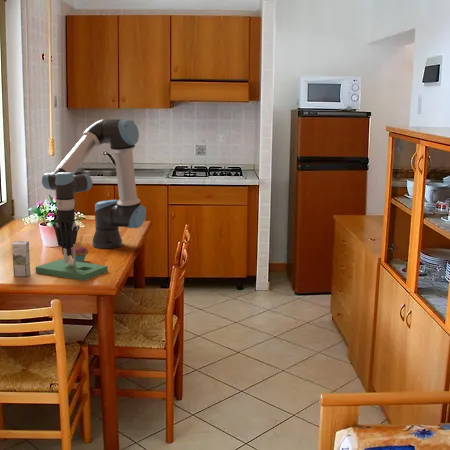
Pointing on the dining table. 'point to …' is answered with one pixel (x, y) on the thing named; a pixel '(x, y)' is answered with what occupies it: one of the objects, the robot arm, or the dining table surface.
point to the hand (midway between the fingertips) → (67, 262)
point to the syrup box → (21, 258)
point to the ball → (71, 262)
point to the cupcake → (80, 253)
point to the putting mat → (72, 268)
